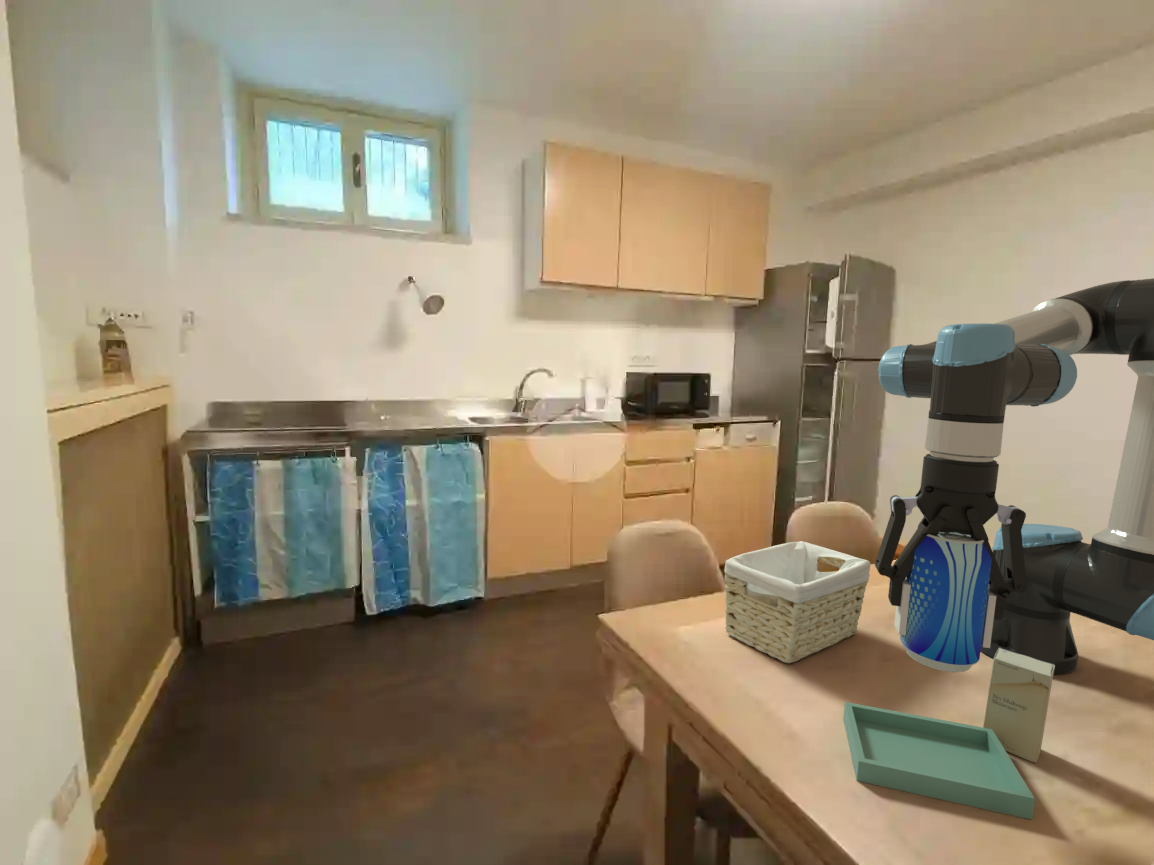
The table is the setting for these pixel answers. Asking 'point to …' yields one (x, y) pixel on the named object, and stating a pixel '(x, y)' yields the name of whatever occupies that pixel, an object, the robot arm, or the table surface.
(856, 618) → the storage basket
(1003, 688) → the skincare box
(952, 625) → the beer can
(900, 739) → the tray
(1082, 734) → the table surface
